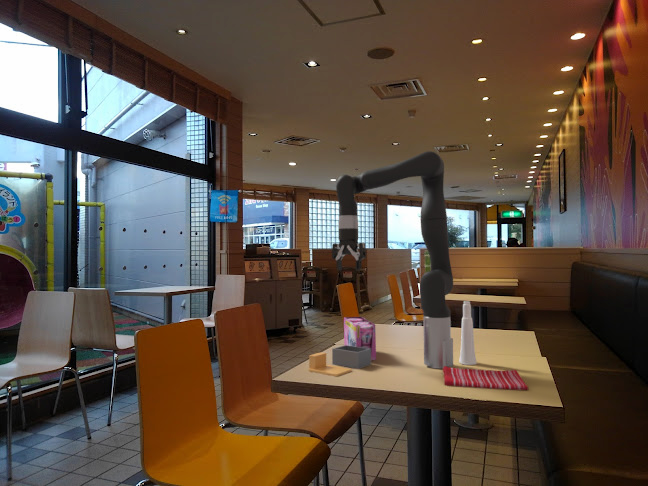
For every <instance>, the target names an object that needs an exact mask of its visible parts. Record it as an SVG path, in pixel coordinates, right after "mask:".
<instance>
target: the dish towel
mask: <svg viewBox="0 0 648 486" xmlns="http://www.w3.org/2000/svg"><path fill="white" fill-rule="evenodd" d="M442 372H443V375H444V376H443V377H444V380H443V381H444V386H446V385H447V387H448V386H449V387H463V388H475V389H476V388H477V389H478V388H479V389H493V390H494V389H495V390H506V391H507V390H511V391H528V390H529V386H528V385H527V384H526V383H525V381H524V380H523V377H522V376H521V374H520V373H519V372H518V371H517V370H516V369H507V370H505V369H504V370H495V369H494V370H493V369H477V368H459V367H446V366H444V368H442Z"/></svg>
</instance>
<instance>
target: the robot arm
mask: <svg viewBox="0 0 648 486" xmlns="http://www.w3.org/2000/svg"><path fill="white" fill-rule="evenodd" d="M444 175H445V164H444V161H443V159H442V157H441V156H440V155H439V154H438V153H436V152H435V151H428V150H427V151H424V152H421V153H420V154H417V155H415V156H412V157H410V158H408V159H404V160H402V161H399V162H397V163H393V164H390V165H386V166H381V167H378V168H373V169H369V170H365V171H363V172H361V174H358V175H356V176H351V175H348V174H342V175H340V176H339V177H338V179H337V181H336V185H335V188H336V194H337V195H336V196H337V200H338V201H337V202H338V213H339V214H338V241H339V243H336V242H335V243H332V245H331V246H332V247H331V249H332V250H331V259H333V260H335V261H336V270H337V271H342V270H343V257H345V256H346V255H352V257H354V259H355V271H359V272H360V271H361V269H362V260H364V259H367V254H366V252H367V250H366V243H365V242H358V241H359V219H358V203H357V201H356V199H355V195H357V194H361V193H363V192H365V191H368V190H372V189H378V188H381V187H387V186H388V185H392V184H393V183H396V182H398V181H400V180H405V179H408V178H415V177H420V180H421V185H422V202H421V208H420V230H421V232H420V233H421V236H422V240H423V242H424V245H425V247H426V250H427V252H428V256H429V260H430V261H429V262H430V271H429V270H428V271H427V272H425V273H424V274H423V275H422V276H421V278H420V284H419V288H420V289H419V292H420V293H419V294H420V295H419V296H420V306H421V310H422V312H423V317H422V319H423V365H425V366H426V367H427V368H430V369H431V368H432V369H443V368H444V366H446V367H450V368H452V367H453V366H454V339H453V338H452V337H451V336H452V335H451V333H452V332H451V309H450V307H448V306H447V303H446V296H448V295H449V294H450V293H451V292H452V290H453V288H454V278H453V270H452V266H451V259H450V248H449V247H450V245H449V233H448V231H449V230H448V228H449V227H448V215H447V214H448V213H447V207H446V201H445V193H444V181H445V180H444V178H445V177H444ZM358 249H359V250H358Z"/></svg>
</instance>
